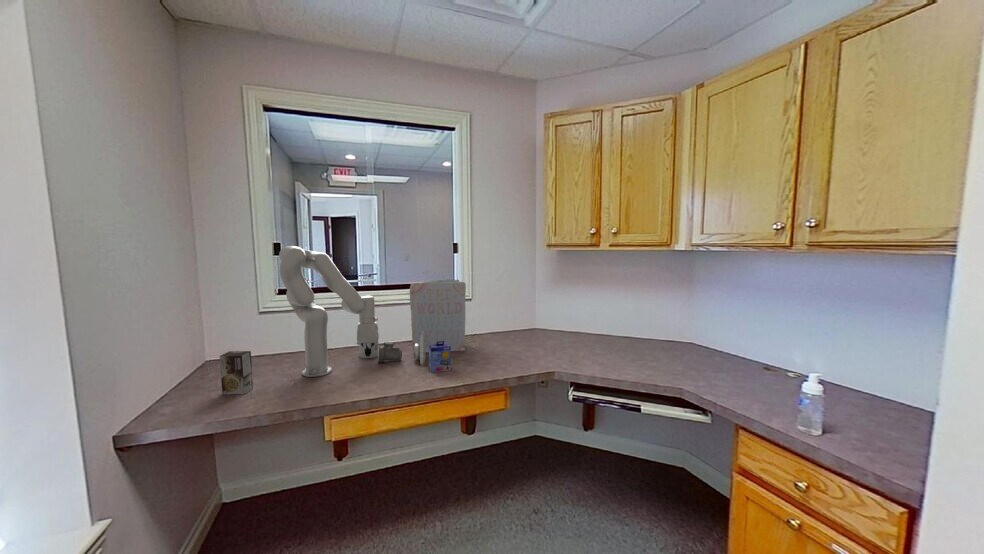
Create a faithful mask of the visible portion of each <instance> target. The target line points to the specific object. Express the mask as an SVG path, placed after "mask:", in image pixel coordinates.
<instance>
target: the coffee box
mask: <svg viewBox="0 0 984 554" xmlns="http://www.w3.org/2000/svg"><path fill="white" fill-rule="evenodd" d="M218 357H219V366H220V380H221V394H222V395H245V394H247V393H248V392H250V391H252V390H253V389H254V383H253V381H254V380H253V369H252V368H253V366H252V365H253V364H252V351H251V350H241V351H239V350H235V351H234V350H233V351H232V350H231V351H230V350H229V351H227V352H224V353H223V354H220V355H219V356H218Z"/></svg>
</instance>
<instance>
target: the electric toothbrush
mask: <svg viewBox="0 0 984 554" xmlns="http://www.w3.org/2000/svg"><path fill="white" fill-rule="evenodd" d="M367 346H368V347H369V343H367ZM358 351H359V352H358V353H359V355H358V356H359V357H360V358H363V359H371V358H376V357H378V351H379V343H378V344H377V345H373V346H372V347H371V354H370V356H366V354H365V349H364V347H362V346H361V345H359V349H358Z"/></svg>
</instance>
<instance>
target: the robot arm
mask: <svg viewBox="0 0 984 554" xmlns="http://www.w3.org/2000/svg"><path fill="white" fill-rule="evenodd" d="M278 258H279V260H280V265H279V276H280V279H281V281H282V283H283V285H284V286H285V288H286V293H285V294H286V295H285V296H286V299H287V302H288V304H290V307H291V308H292V309H293V311H294V313H295V314H296V316H297V317H298V319H299V320H300V321H301V322H303V323H304V325H305V326H304V336H303V337H304V339H303V340H304V356H305V357H304V359H305V369H303V370H302V372H301V375H302V376H304V377H307V378H313V377H314V378H315V377H323V376H326V375H328V374H331V372H332V370H333V369H332V367H331V366H329V362H328V361H329V360H328V357H329V356H328V352H329V351H328V322H329V315H328V313H327V310H326V309H325V308H323V307H322V306H320V305H317V304H316V303H315V301H314V300H315V293H314V291H313V290H312V288H311V286H310V285H309V283H308V282H307V280H306V278H305V276H304V274H303V271H302V268H304V269H311V270H314V271H315V272H316V274H317V276H318V277H320V279H321V280H322V282H323V283H324V285H325V286H326V288H328V289H329V290H330V291H332V292H333V293H335V294H336V295H337V296H339V297H340V299H341V303H340V305H341V308H342V309H343V310H344V311H345V312H348V313H351V314H353V315H358V316H359V319H358V321H359V322H358V323H357V329H356V330H357V331H356V345H358V346H360V345H361V346H362V347H364V349H365V354H366V356H370V354H371V347H372V346H373V345H377V344H378V345H379V344H380V342H379V335H380V334H379V327H378V323H377V322H376V321H379V319H378V317H376V316H375V315H376V309H375V306H376V305H375V304H376V303H375V297H374V296H373V295H362V296H361V295H360V294H359V293H358V291H357V290H356V289H355V288H354V286H353V285H352V284H351V283H350V282H349V281H348V280H347V279H346V278H345V277H344V276H343V275H342V273H341V271H340V270H339V269H338V267H337V266H336V264H335V263H334V261H333V260H332V259H331V257H330V255H328V254H327V253H325V252H322V251H313V250H308V249H304V248H302V247H300V246H295V245H287V246H284V247H283V248H281V249H280V251H279V254H278ZM367 343H369V347H368V346H367Z"/></svg>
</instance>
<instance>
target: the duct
mask: <svg viewBox="0 0 984 554" xmlns="http://www.w3.org/2000/svg"><path fill="white" fill-rule="evenodd" d="M426 353H427V352H426V344H425V331H422V334H421V336H420V343H415V344H414V353H413V361H414V362H420V363H419V365H420V366H424V364H425V360H426V356H427V355H426Z"/></svg>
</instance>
